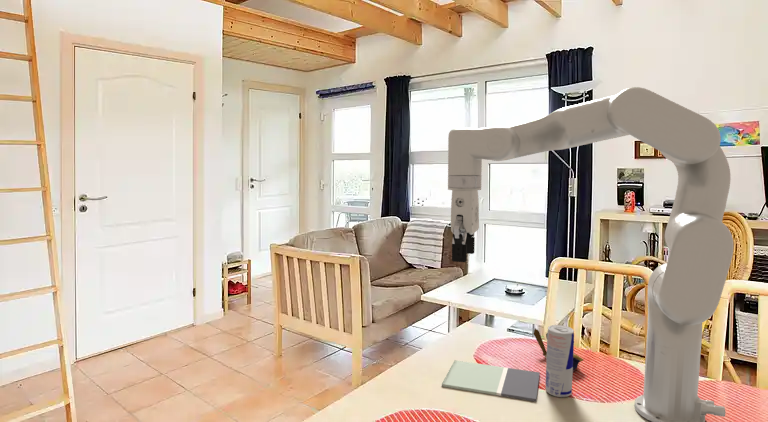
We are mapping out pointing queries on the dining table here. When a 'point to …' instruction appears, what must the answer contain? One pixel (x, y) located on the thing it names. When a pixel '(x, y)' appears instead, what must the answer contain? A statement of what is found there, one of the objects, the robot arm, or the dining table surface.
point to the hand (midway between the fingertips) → (463, 257)
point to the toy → (538, 337)
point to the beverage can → (559, 360)
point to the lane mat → (493, 380)
